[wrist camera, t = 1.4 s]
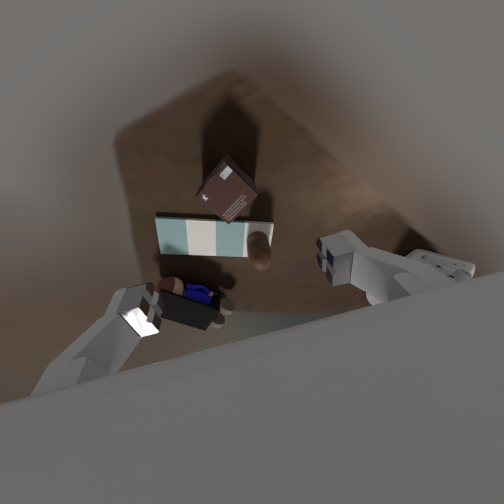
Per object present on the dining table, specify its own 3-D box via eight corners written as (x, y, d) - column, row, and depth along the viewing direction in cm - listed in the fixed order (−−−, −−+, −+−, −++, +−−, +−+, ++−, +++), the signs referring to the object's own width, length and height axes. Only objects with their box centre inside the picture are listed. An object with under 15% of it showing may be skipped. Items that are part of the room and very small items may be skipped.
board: (272, 222, 39) (273, 224, 38) (268, 255, 43) (268, 257, 42) (156, 216, 37) (155, 218, 36) (162, 251, 41) (160, 253, 40)
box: (229, 207, 37) (228, 226, 31) (201, 182, 35) (193, 197, 28) (255, 181, 35) (259, 195, 29) (227, 152, 33) (224, 161, 26)
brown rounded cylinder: (269, 231, 39) (276, 254, 32) (267, 250, 41) (272, 276, 35) (247, 230, 39) (249, 253, 32) (245, 250, 41) (247, 275, 34)
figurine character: (234, 287, 48) (166, 264, 42) (238, 315, 42) (158, 293, 36) (220, 306, 51) (154, 288, 45) (222, 335, 45) (145, 318, 39)
